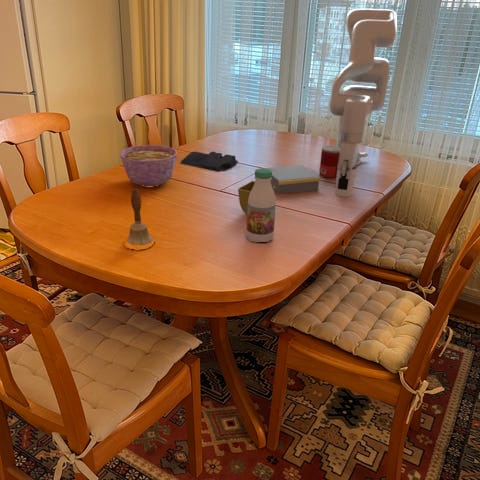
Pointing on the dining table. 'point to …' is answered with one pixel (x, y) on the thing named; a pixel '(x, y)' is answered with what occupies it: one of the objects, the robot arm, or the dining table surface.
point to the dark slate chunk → (210, 161)
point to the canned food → (329, 161)
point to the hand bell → (138, 223)
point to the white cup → (350, 183)
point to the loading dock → (293, 179)
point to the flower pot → (246, 195)
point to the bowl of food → (149, 164)
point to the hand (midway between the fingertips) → (344, 184)
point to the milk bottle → (261, 208)
